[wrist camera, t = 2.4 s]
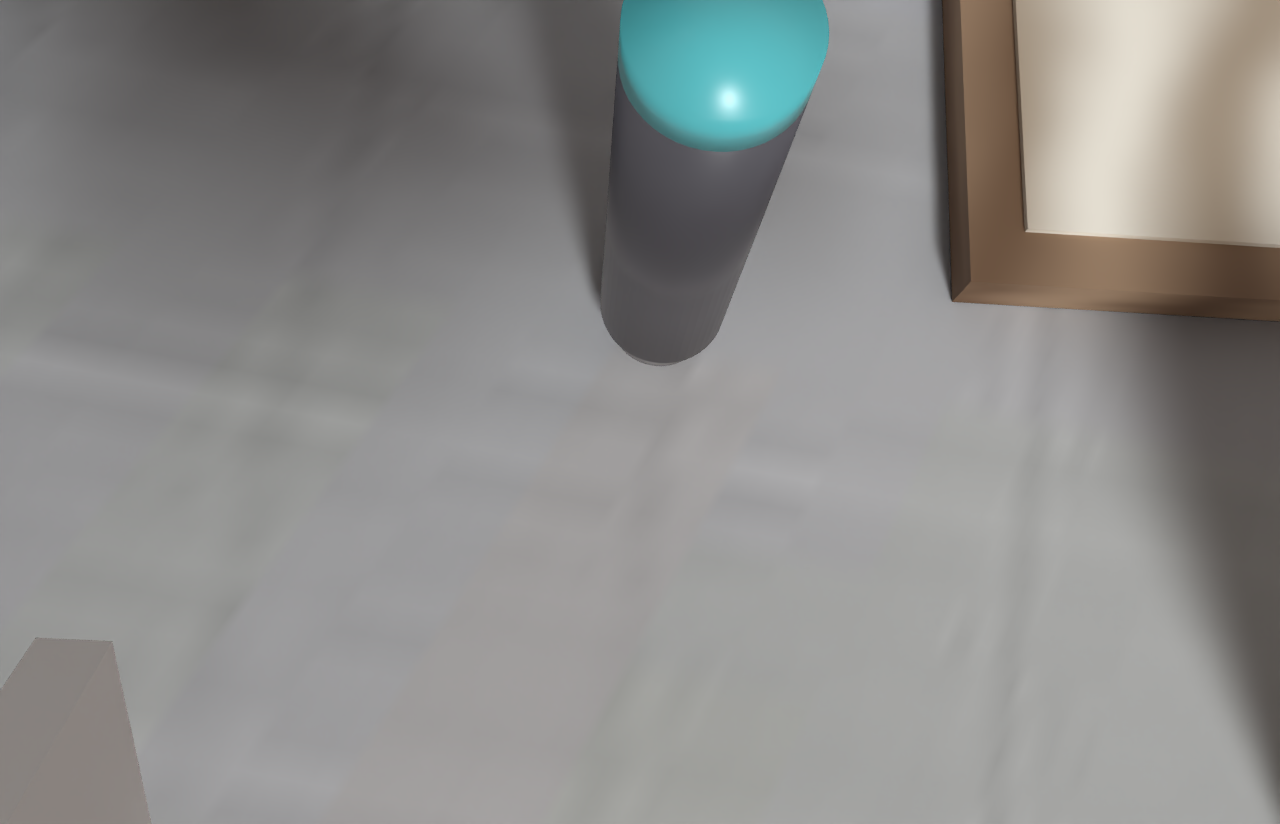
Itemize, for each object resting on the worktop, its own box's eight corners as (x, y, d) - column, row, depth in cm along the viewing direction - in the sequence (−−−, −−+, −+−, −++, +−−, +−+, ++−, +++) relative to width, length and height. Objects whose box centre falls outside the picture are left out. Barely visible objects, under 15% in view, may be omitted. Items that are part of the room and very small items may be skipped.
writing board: (952, 301, 31) (974, 278, 29) (936, -184, 35) (954, -228, 33) (1514, 335, 31) (1566, 314, 30) (1433, -144, 36) (1475, -185, 34)
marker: (596, 373, 30) (615, 112, 17) (602, 260, 30) (625, -73, 17) (717, 379, 30) (829, 126, 17) (719, 267, 31) (828, -57, 18)
